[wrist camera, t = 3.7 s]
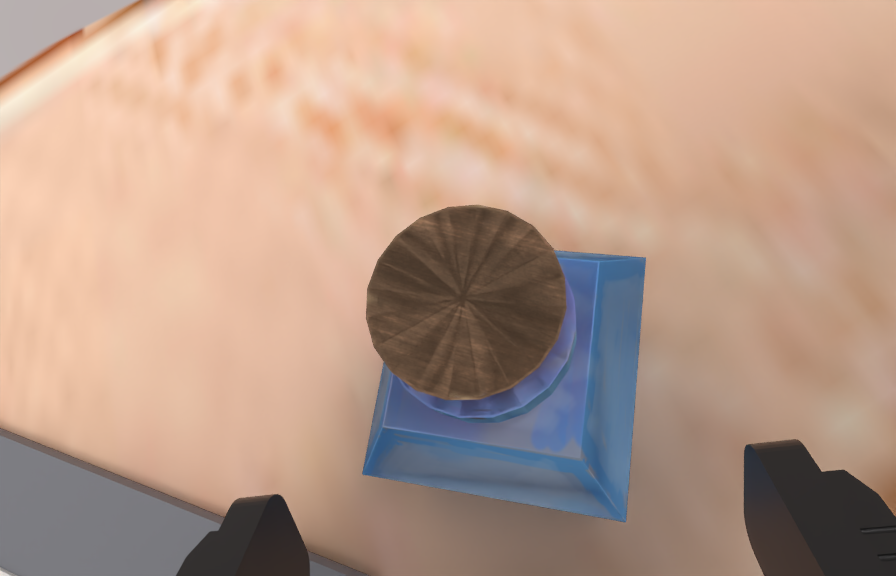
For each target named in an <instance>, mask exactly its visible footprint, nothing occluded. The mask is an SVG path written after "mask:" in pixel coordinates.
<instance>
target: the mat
mask: <svg viewBox="0 0 896 576" xmlns="http://www.w3.org/2000/svg"><path fill="white" fill-rule="evenodd" d="M223 520H224V517H221V516H219V515H216V514H214V513H211V512H209V511H206V510H204V509H201V508H199V507H196V506H194V505H191V504H189V503H186V502H184V501H181V500H179V499H176V498H174V497H171V496H169V495H166V494H164V493H161V492H159V491H156V490H154V489H151V488H149V487H146V486H144V485H141V484H139V483H136V482H134V481H131V480H129V479H126V478H124V477H121V476H119V475H116V474H114V473H111V472H109V471H106V470H104V469H101V468H99V467H96V466H94V465H91V464H89V463H86V462H84V461H81V460H79V459H76V458H74V457H71V456H69V455H66V454H64V453H61V452H59V451H56V450H54V449H51V448H49V447H46V446H44V445H41V444H38V443H36V442H33V441H31V440H28V439H26V438H23V437H21V436H18V435H16V434H13V433H11V432H8V431H6V430H3V429H1V428H0V576H176V575H177V573H178V571H179V569H180V567H181V565H182V563H183V562H184V560H185V558H186V556H187V555H188V554H189V553H190V552H191V551H192V550H193V549H194V548H195V547H196V546H197V545H198V544H199V542H200V541H201V540H202V539H203V538H204V537H205V536H206V535H207V534H208V533H209V532H210V531H218V530H219V528H220V526H221V524H222V522H223ZM307 552H308V555H309V562H310V576H369V575H367V574H364V573H362V572H359V571H357V570H354V569H352V568H349V567H347V566H344V565H342V564H339V563H337V562H334V561H332V560H329V559H327V558H324V557H322V556H319V555H317V554H314V553H312V552H309V551H307Z"/></svg>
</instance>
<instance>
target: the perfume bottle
mask: <svg viewBox="0 0 896 576" xmlns="http://www.w3.org/2000/svg"><path fill="white" fill-rule="evenodd" d="M645 262H646V258H643V257H630V256H618V255H605V254H593V253H580V252H567V251H555V250H554V249H553V248H552V247H551V245H550V244H549V243H548V242H547V241H546V240H545V239H544V238H543V236H542V235H541V234H540V233H539V232H538V231H537V230H536V229H535V227H534V226H532V225H531V224H529V223H527V222H525V221H524V220H522V219H520V218H518V217H517V216H515V215H513V214H512V213H510V212H508V211H505V210H500V209H495V208H491V207H486V206H481V205H469V206H457V207H447V208H445V209H442V210H440V211H437V212H434V213H432V214H429V215H427V216H424V217H421V218H419V219H418V220H417V221H415V222H414V223H413V224H411V225H410V226H409V227H407V228H406V229H405V230H403V231H402V232H401V233H399V234H398V235H397V236H396V237H395V238H394V239H393V241H392V242H391V243H390V245H389V246H388V247H387V249H386V250H385V251H384V253H383V254H382V255H381V257H380V258H379V259H378V261H377V264H376V267H375V269H374V272H373V275H372V277H371V280H370V283H369V285H368V288H367V308H366V320H367V323H368V327H369V331H370V334H371V338H372V342H373V345H374V348H375V349H376V351H377V352H378V354H379V355H380V357H381V358H382V359H383V361H384V364H383V369H382V374H381V380H380V385H379V390H378V395H377V400H376V405H375V411H374V416H373V421H372V426H371V431H370V437H369V442H368V447H367V452H366V457H365V463H364V468H363V473H362V474H363V475H369V476H374V477H380V478H385V479H391V480H396V481H402V482H407V483H413V484H418V485H424V486H429V487H435V488H440V489H446V490H451V491H457V492H462V493H468V494H473V495H479V496H484V497H490V498H495V499H501V500H506V501H512V502H517V503H523V504H528V505H534V506H539V507H545V508H550V509H556V510H561V511H567V512H572V513H578V514H583V515H589V516H594V517H600V518H605V519H611V520H616V521H622V522H626V514H627V501H628V487H629V474H630V461H631V448H632V434H633V421H634V408H635V395H636V381H637V368H638V355H639V342H640V328H641V315H642V302H643V289H644V275H645Z"/></svg>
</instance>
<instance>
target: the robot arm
mask: <svg viewBox="0 0 896 576" xmlns="http://www.w3.org/2000/svg"><path fill="white" fill-rule="evenodd" d="M744 518H745V524H746V529H747V533H748V537H749V540H750V543H751V546H752V549H753V551H754V554H755V556H756V558H757V560H758V563H759V565H760V567H761V569H762V571H763V574H764V576H896V517H895V516H894V515H893V513H892V512H891V511H890V509H889V508H888V507H887V505H886V504H885V503H884V501H883V500H882V499H881V497H880V496H879V495H878V494H877V493H876V492H875V491H873V490H872V489H870V488H869V487H868V486H866V485H865V484H863V483H862V482H861V481H859V480H858V479H856V478H855V477H854V476H852V475H851V474H849V473H848V472H847V471H845V470H836V471H826V472H821V470H820V469H819V467H818V466H817V464H816V463H815V461H814V460H813V458H812V457H811V455H810V454H809V452H808V451H807V449H806V448H805V446H804V445H803V444H802V443H801V442H800V441H799V440H796V439H794V440H785V441H776V442H766V443H757V444H748V445H746V447H745V450H744ZM176 576H310V562H309V555H308V552H307V549H306V547H305V544H304V542H303V540H302V538H301V535H300V533H299V531H298V529H297V527H296V524H295V522H294V520H293V518H292V515H291V513H290V511H289V509H288V507H287V504H286V502H285V500H284V499H283V497H282V496H280V495H278V494H274V495H265V496H255V497H246V498H239V499H237V500H235V501H234V502H233V504H232V505H231V507H230V509H229V510H228V512H227V514H226V516H225V518H224V520H223V522H222V524H221V526H220V528H219V530H218V531H210V532H209V533H208V534H207V535H206V536H205V537H204V538H203V539H202V540H201V541H200V542H199V544H198V545H197V546H196V547H195V548H194V549H193V550H192V551H191V552H190V553H189V554H188V555H187V556H186V558H185V560H184V562H183V563H182V565H181V567H180V569H179V571H178V573H177V575H176Z"/></svg>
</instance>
